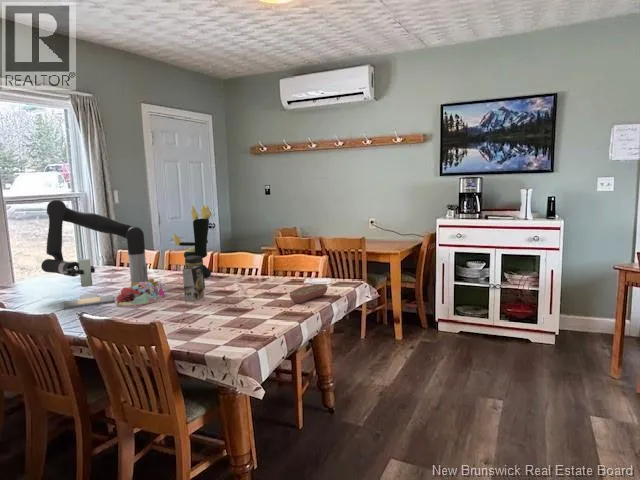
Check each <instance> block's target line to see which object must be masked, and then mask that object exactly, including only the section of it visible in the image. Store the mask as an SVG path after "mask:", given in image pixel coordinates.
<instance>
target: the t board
mask: <svg viewBox="0 0 640 480" xmlns="http://www.w3.org/2000/svg"><path fill="white" fill-rule="evenodd" d="M112 303H115V299H114V296H113V294H109V295H101V296H98V292H95V293H87V294H80V298H79V299H74V300H73V299H72V300H67V301H66V300H65V301H64V303H63V307H62V308H63V310H69V309H76V308H77V309H78V308H84V307H83V306H85V307H90V305H92V306H97V305H104V304H112Z"/></svg>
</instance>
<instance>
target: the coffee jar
mask: <svg viewBox="0 0 640 480" xmlns="http://www.w3.org/2000/svg"><path fill="white" fill-rule="evenodd" d="M184 264H185V268H186V267H189V266H202V274H203V265H204V258H202V257H201V256H194V255H192V256H187V257H186V258H185V257H184ZM203 287H204V289H206V283H205V278H204V275H203Z"/></svg>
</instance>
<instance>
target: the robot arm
mask: <svg viewBox="0 0 640 480" xmlns="http://www.w3.org/2000/svg"><path fill="white" fill-rule="evenodd" d="M46 215H47V216H48V232H47V239H46V254H47V255H49V256H51V257H53V259H52V258H46V259H44V260H43V261H42V262H41V270H43V272H45V273H51V274H52V273H53V274H60V275H63V276H67V277H73V278H74V277H78V276H79V275H80V274H81V275H83V274H84V271H83V270H80V268H79V261H78V262H77V261H71V260H64V256H63V222H66V223H71V224H75V225H77V226H79V227H83V228H85V229H89V230H92V231H96V232H98V233H103V234H108V235H110V234H111V235H116V236H119V237H122V238H124V239H126V240H127V241H126V244H127V254H128V255H127V257H128V263H129V264H128V266H129V275H130V284H131V283H133V282H137V283H139V282H148V283H149V277H148V267H147V260H146V247H145V246H146V245H145V234H144V232H143V230H142V229H141V228H140V227H139V226H136V225H130V224H124V223H121V222H119V221H116V220H114V219H111V218H109V217H107V216H104V215H101V214H97V213H95V212H88V211H79V210H78V211H77V210H74V209H71V208H69V207H67V205H66V204H65V202H63V201H62V200H61V199H53V200H51V201H50V202H48V203H47V205H46ZM95 271H96V269H95V267H94V266H93V265H91V273H95Z"/></svg>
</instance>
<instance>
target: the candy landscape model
mask: <svg viewBox="0 0 640 480" xmlns="http://www.w3.org/2000/svg"><path fill="white" fill-rule="evenodd" d="M158 283H159V281H158V280H156V281H155V279H154V278H148V282H139V283H137V282H133V283H131V282H130V287H129V288H128V287H123V288H122V289H121V290H120V293H119V294H118V295H117V296H116V301H115V305H116V306H117V305H118V306H117V307H130V306H132V307H134V306H141V305H148V304H151V303H155V302H157V301H158V299H161V298H164V297H165V294H166V293H165V290H164V285H163V283H162V282H160V283H159V286H158Z"/></svg>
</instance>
